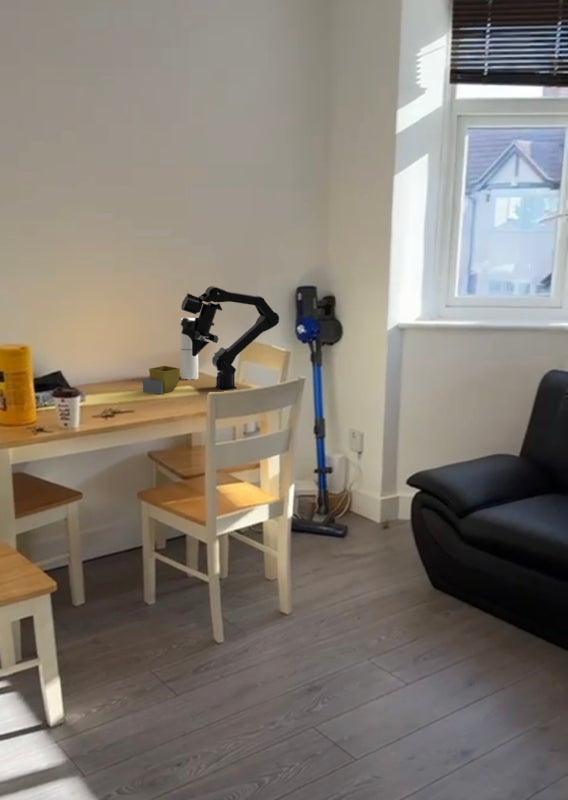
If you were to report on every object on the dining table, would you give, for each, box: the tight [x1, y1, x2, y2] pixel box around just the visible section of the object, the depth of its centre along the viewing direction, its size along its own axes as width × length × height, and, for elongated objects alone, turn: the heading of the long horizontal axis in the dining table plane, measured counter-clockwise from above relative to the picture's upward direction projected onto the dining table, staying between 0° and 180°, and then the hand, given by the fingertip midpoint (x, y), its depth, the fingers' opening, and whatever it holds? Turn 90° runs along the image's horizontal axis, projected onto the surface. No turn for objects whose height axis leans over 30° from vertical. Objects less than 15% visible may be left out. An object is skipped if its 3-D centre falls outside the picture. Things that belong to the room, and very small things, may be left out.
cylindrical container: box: [180, 317, 199, 381], centre depth 323 cm, size 7×7×25 cm
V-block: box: [142, 376, 164, 395], centre depth 299 cm, size 7×12×5 cm, turn 18°
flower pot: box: [148, 365, 181, 393], centre depth 300 cm, size 9×9×9 cm
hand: (193, 356), depth 301 cm, fingers closed
